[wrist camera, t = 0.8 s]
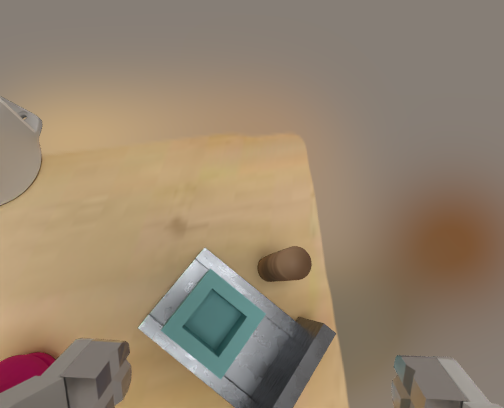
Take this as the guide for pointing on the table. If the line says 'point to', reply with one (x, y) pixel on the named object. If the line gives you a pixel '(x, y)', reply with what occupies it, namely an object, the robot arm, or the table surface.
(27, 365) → the pepper mill
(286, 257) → the dowel
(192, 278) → the track
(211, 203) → the table surface
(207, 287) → the socket block
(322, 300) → the table surface
